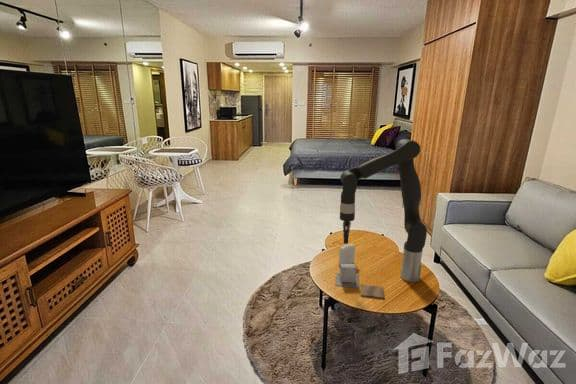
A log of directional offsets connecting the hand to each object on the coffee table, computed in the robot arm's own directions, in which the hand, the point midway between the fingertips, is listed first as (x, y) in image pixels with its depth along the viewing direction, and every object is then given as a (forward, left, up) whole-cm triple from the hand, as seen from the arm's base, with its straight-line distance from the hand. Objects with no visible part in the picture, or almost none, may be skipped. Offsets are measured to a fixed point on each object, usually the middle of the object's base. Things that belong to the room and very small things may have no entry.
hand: (346, 239), depth 162 cm
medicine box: (-2, +2, -23) cm, 23 cm away
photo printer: (-1, -16, -23) cm, 28 cm away
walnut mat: (-14, +10, -23) cm, 29 cm away
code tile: (-2, +2, -23) cm, 23 cm away
